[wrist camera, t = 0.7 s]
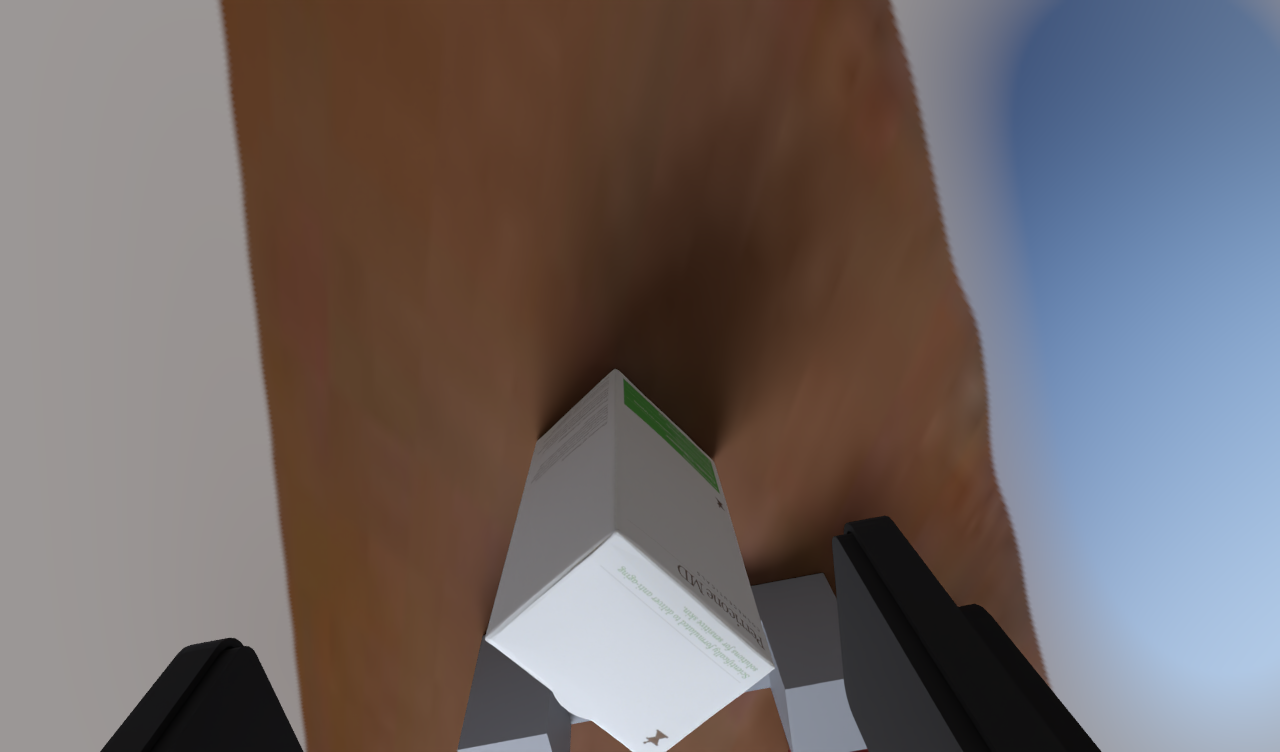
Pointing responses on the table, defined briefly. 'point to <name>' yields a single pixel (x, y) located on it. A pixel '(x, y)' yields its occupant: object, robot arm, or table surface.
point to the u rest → (801, 685)
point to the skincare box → (628, 575)
